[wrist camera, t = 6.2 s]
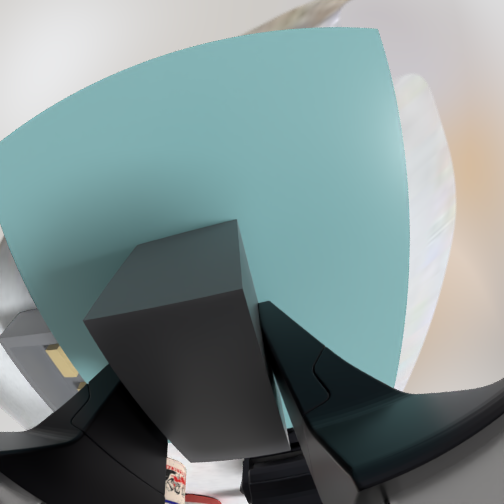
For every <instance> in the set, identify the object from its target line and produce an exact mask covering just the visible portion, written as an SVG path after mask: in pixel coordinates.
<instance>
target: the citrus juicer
mask: <svg viewBox="0 0 504 504" xmlns="http://www.w3.org/2000/svg"><path fill="white" fill-rule="evenodd" d="M185 504H221V502H220V501H218V500H216V499H213V498H209V497H204V496H196V495H194V494H187V495H185Z"/></svg>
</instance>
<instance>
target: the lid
mask: <svg viewBox="0 0 504 504" xmlns="http://www.w3.org/2000/svg"><path fill="white" fill-rule="evenodd" d="M0 224H1V227H2V230H3V233H4V236H5V238H6V241H7V244H8V246H9V249H10V251H11V254H12V256H13V259H14V261H15V263H16V265H17V268H18V270H19V272H20V274H21V277H22V279H23V281H24V283H25V285H26V287H27V289H28V291H29V293H30V295H31V297H32V299H33V301H34V303H35V305H36V306H37V308H38V310H39V312H40V314H41V315H42V317H43V319H44V321H45V322H46V324H47V326H48V328H49V329H50V331H51V333H52V334H53V336H54V337H55V339H56V341H57V342H58V344H59V345H60V347H61V348H62V350H63V351H64V353H65V354H66V356H67V357H68V359H69V360H70V362H71V363H72V364H73V366H74V367H75V369H76V370H77V371H78V373H79V374H80V375H81V377H82V378H83V379H84V381H85V382H86V383H87V384H88V382H89V381H90V380H91V379H92V378H94V377H95V376H96V375H97V374H98V373H99V372H100V371H101V370H102V369H103V368H104V367H105V366H106V365H108V364H110V366H111V367H112V369H113V370H114V372H115V373H116V375H117V376H118V377H119V379H120V380H121V382H122V383H123V384H124V386H125V387H126V389H127V390H128V391H129V393H130V394H131V395H132V397H133V398H134V399H135V400H136V402H137V403H138V404H139V406H140V407H141V408H142V409H143V411H144V412H145V413H146V414H147V415H148V417H149V418H150V419H151V420H152V421H153V423H154V424H155V425H156V426H157V427H158V428H159V430H160V431H161V432H162V433H163V434H164V435H165V436H166V437H167V439H168V443H172V444H173V445H174V446H175V447H176V448H177V449H178V450H179V451H180V452H181V453H182V454H183V455H184V456H185V457H186V458H187V459H188V460H189V461H190V462H191V463H193V462H211V461H224V460H233V459H242V458H250V457H257V456H263V455H269V454H275V453H280V452H285V451H290V450H291V448H290V443H289V438H288V433H287V428H292V427H293V426H292V423H291V420H290V417H289V415H288V412H287V409H286V407H285V404H284V401H283V399H282V396H281V393H280V390H279V388H278V385H277V382H276V379H275V377H274V374H273V371H272V367H271V363H270V360H269V356H268V352H267V349H266V345H265V341H264V338H263V334H262V330H261V326H260V320H259V312H258V303H260V302H264V301H271V302H272V303H273V304H274V305H276V306H277V307H278V308H279V309H280V310H282V311H283V312H284V313H285V314H287V315H288V316H289V317H290V318H291V319H293V320H294V321H295V322H296V323H298V324H299V325H300V326H301V327H303V328H304V329H305V330H306V331H308V332H309V333H310V334H311V335H313V336H314V337H315V338H316V339H318V340H319V341H320V342H321V343H323V344H324V345H325V346H326V347H328V348H329V349H330V350H332V351H333V352H334V353H335V354H337V355H338V356H339V357H341V358H342V359H344V360H345V361H347V362H348V363H350V364H351V365H353V366H355V367H356V368H358V369H360V370H361V371H363V372H365V373H367V374H369V375H370V376H372V377H374V378H376V379H378V380H379V381H381V382H383V383H385V384H387V385H389V386H390V387H392V388H394V385H395V380H396V375H397V370H398V364H399V359H400V353H401V346H402V339H403V332H404V324H405V315H406V305H407V293H408V277H409V248H410V227H409V198H408V182H407V171H406V160H405V152H404V144H403V136H402V130H401V123H400V117H399V112H398V106H397V101H396V96H395V91H394V87H393V82H392V78H391V74H390V70H389V66H388V62H387V58H386V55H385V51H384V48H383V44H382V41H381V38H380V34H379V32H378V29H372V28H348V27H347V28H346V27H326V28H302V29H289V30H279V31H271V32H263V33H256V34H249V35H243V36H238V37H233V38H228V39H223V40H218V41H214V42H209V43H205V44H201V45H197V46H193V47H190V48H186V49H183V50H180V51H176V52H173V53H169V54H166V55H163V56H160V57H157V58H154V59H151V60H149V61H146V62H143V63H141V64H138V65H135V66H133V67H130V68H128V69H125V70H123V71H121V72H118V73H116V74H113V75H111V76H109V77H107V78H104V79H102V80H100V81H98V82H96V83H94V84H92V85H90V86H88V87H86V88H84V89H82V90H80V91H78V92H76V93H74V94H73V95H70V96H69V97H67V98H65V99H64V100H62V101H60V102H58V103H56V104H55V105H53V106H52V107H50V108H48V109H46V110H45V111H43V112H42V113H40V114H39V115H37V116H35V117H34V118H32V119H31V120H29V121H28V122H26V123H25V124H24V125H22V126H21V127H19V128H18V129H16V130H15V131H14V132H12V133H11V134H10V135H8V136H7V137H6V138H4V139H3V140H2V141H0Z"/></svg>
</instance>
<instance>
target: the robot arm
mask: <svg viewBox="0 0 504 504" xmlns="http://www.w3.org/2000/svg"><path fill="white" fill-rule="evenodd" d="M258 312H259V320H260V326H261V330H262V334H263V338H264V341H265V345H266V349H267V352H268V356H269V360H270V363H271V367H272V371H273V374H274V377H275V379H276V382H277V385H278V388H279V390H280V393H281V396H282V399H283V401H284V404H285V407H286V409H287V412H288V415H289V417H290V420H291V423H292V426H293V427H292V428H287V433H288V438H289V443H290V448H291V450H290V451H285V452H280V453H275V454H269V455H263V456H257V457H250V458H244V461H243V475H242V482H241V486H240V491H241V493H243V494H244V495H245V497H246V499H247V501H248V503H249V504H504V378H503V379H501V380H499V381H497V382H495V383H493V384H491V385H488V386H484V387H481V388H476V389H469V390H461V391H452V392H442V393H429V394H409V393H405V392H402V391H399V390H397V389H394V388H392V387H390V386H389V385H387V384H385V383H383V382H381V381H379V380H378V379H376V378H374V377H372V376H370V375H369V374H367V373H365V372H363V371H361V370H360V369H358V368H356V367H355V366H353V365H351V364H350V363H348V362H347V361H345V360H344V359H342V358H341V357H339V356H338V355H337V354H335V353H334V352H333V351H332V350H330V349H329V348H328V347H326V346H325V345H324V344H323V343H321V342H320V341H319V340H318V339H316V338H315V337H314V336H313V335H311V334H310V333H309V332H308V331H306V330H305V329H304V328H303V327H301V326H300V325H299V324H298V323H296V322H295V321H294V320H293V319H291V318H290V317H289V316H288V315H287V314H285V313H284V312H283V311H282V310H280V309H279V308H278V307H277V306H276V305H274V304H273V303H272V302H271V301H264V302H260V303H258ZM167 448H168V439H167V437H166V436H165V435H164V434H163V433H162V432H161V431H160V430H159V428H158V427H157V426H156V425H155V424H154V423H153V421H152V420H151V419H150V418H149V417H148V415H147V414H146V413H145V412H144V411H143V409H142V408H141V407H140V406H139V404H138V403H137V402H136V400H135V399H134V398H133V397H132V395H131V394H130V393H129V391H128V390H127V389H126V387H125V386H124V384H123V383H122V382H121V380H120V379H119V377H118V376H117V375H116V373H115V372H114V370H113V369H112V367H111V366H110V364H108V365H106V366H105V367H104V368H103V369H102V370H101V371H100V372H99V373H98V374H97V375H96V376H95V377H94V378H92V379H91V380H90V381H89V382H88V384H86V385H85V386H84V387H83V388H82V389H81V390H79V391H78V392H77V393H76V394H75V395H74V396H73V397H72V398H71V399H69V400H68V401H67V402H66V403H65V404H63V405H62V406H61V407H60V408H58V409H57V410H56V411H55V412H53V413H52V414H51V415H50V416H48V417H47V418H46V419H45V420H44V421H42V422H41V423H40V424H39V425H37V426H36V427H34V428H32V429H30V430H27V431H24V432H0V504H165V496H164V495H165V484H166V464H167Z"/></svg>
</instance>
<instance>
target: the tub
mask: <svg viewBox="0 0 504 504" xmlns="http://www.w3.org/2000/svg"><path fill="white" fill-rule="evenodd" d="M0 343H1V345H2V346H3V348H4V349H5V351H6V352H7V354H8V355H9V357H10V358H11V359H12V361H13V362H14V364H15V365H16V366H17V368H18V369H19V371H20V372H21V373H22V374H23V376H24V377H25V378H26V380H27V381H28V382H29V383H30V385H31V386H32V387H33V388H34V390H35V391H36V392H37V393H38V394H39V396H40V397H41V398H42V399H43V400H44V401H45V403H46V404H47V405H48V406H49V407H50V408H51V409H52V410H53V411H54V412H55V411H56V410H57V409H58V408H60V407H61V406H62V405H63V404H65V403H66V402H67V401H68V400H69V399H71V398H72V397H73V396H74V395H75V394H76V393H77V392H78V391H79V390H81V389H82V388H83V387H84V386H85V385H86V384H87V383H86V382H85V381H84V379H83V378H82V377H81V375H80V374H79V373H78V371H77V370H76V369H75V367H74V366H73V364H72V363H71V362H70V360H69V359H68V357H67V356H66V354H65V353H64V351H63V350H62V348H61V347H60V345H59V344H58V342H57V341H56V339H55V337H54V336H53V334H52V333H51V331H50V329H49V328H48V326H47V324H46V322H45V321H44V319H43V317H42V315H41V314H40V312H39V310H38V309H34V310H29V311H24V312H20V313H19V314H18V315H17V316H16V318H15V319H14V320H13V321H12V322H11V323H10V324H9V326H8V327H7V328H6V329H5V330H4V332H3V333H2V334H1V335H0Z"/></svg>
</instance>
